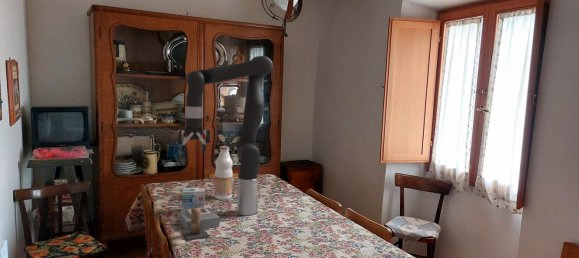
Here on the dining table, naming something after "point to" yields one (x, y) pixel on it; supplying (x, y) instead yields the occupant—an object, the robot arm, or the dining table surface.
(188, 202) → the light bulb box
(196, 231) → the dowel
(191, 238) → the mat
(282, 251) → the dining table surface
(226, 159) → the fruit juice
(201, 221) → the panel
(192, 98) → the robot arm
